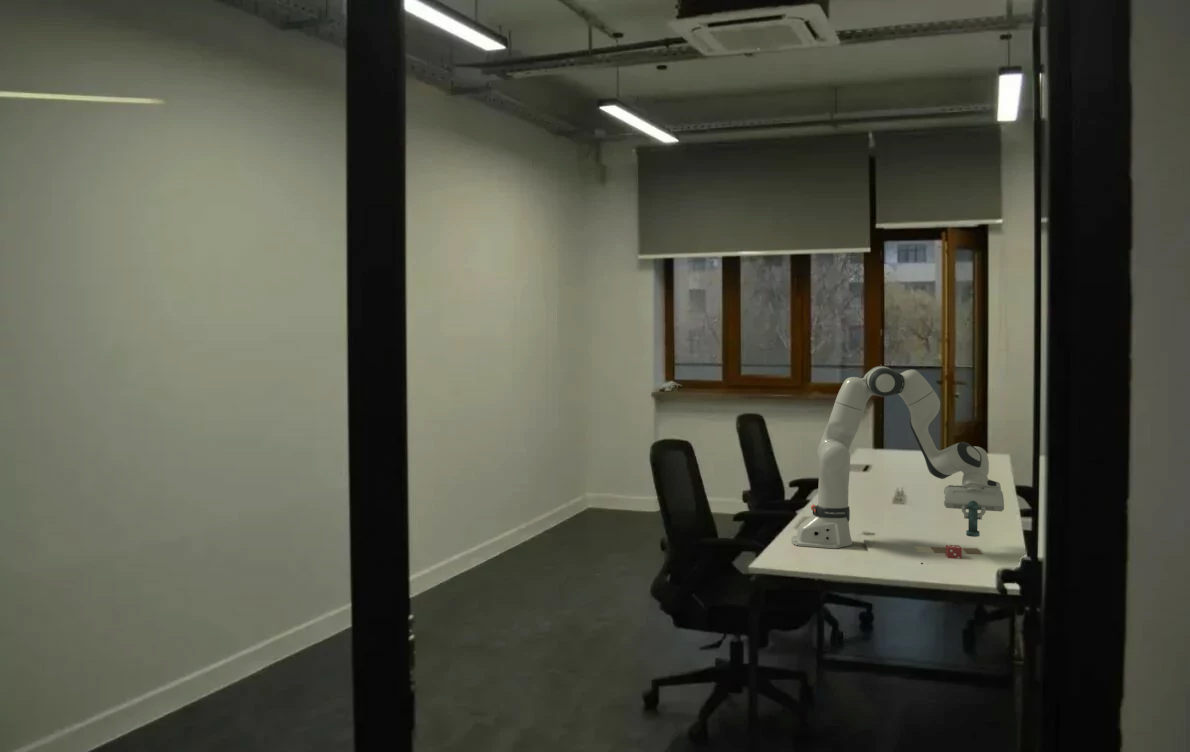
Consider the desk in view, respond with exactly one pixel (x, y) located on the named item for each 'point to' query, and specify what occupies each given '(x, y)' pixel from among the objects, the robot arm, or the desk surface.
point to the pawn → (973, 520)
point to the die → (953, 551)
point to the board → (943, 550)
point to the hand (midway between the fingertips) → (972, 518)
